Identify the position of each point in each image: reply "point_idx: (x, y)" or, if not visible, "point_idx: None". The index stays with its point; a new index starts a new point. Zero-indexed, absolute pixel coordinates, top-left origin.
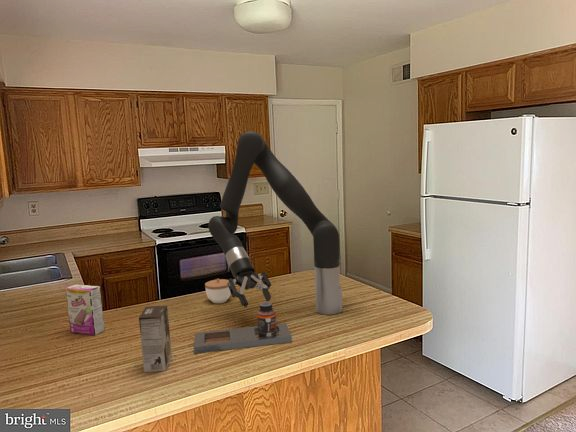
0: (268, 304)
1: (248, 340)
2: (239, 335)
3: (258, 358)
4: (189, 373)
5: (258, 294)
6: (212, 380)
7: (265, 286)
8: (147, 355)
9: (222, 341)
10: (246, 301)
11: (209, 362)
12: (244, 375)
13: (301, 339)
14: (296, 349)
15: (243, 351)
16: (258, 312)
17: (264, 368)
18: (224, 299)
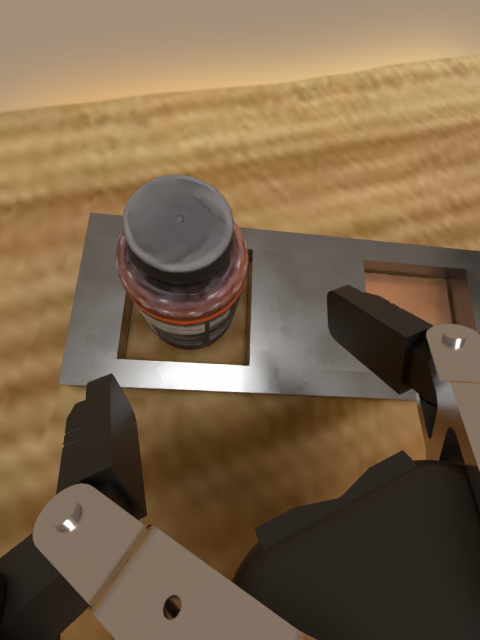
0: (160, 197)
1: (287, 236)
2: (324, 300)
3: (256, 154)
4: (462, 144)
5: None
6: (393, 89)
7: (72, 513)
8: None
9: None
10: (350, 294)
11: (414, 185)
12: (307, 80)
13: (48, 240)
14: (104, 166)
15: (303, 219)
16: (242, 240)
17: (246, 92)
18: None
